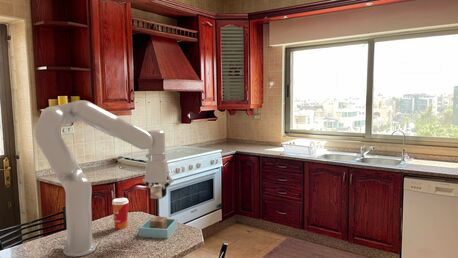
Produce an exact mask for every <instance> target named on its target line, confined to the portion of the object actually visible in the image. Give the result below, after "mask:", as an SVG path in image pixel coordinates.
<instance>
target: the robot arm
mask: <svg viewBox="0 0 458 258" xmlns="http://www.w3.org/2000/svg"><path fill="white" fill-rule="evenodd" d="M39 116H40V117H39V119H38V121H37V122H36V124H35V128H34V135H35V140H36V143H37V145H38V147H39V148H40V150H41V151H42V153H43V156H44V158H46V160H47V162H48V163H49V164H48V165H49V167H50V169H51V170H52V172H53V173H54V175H55V176H56V178H57V179H58V181H59V182H60V184H61V186H62V187H63V189H64V193H65V219H66V220H65V221H66V237H61V238H60V242H59V245H61V246H64V248H63V255H64V256H67V257H71V258H73V257H74V258H75V257H83V256H86V255H90V254H92V253H93V252H94V251H95V250H97V249H98V244H97V243H96V242H95V241H93V219H92V217H93V216H92V215H93V214H92V193H93V192H92V191H93V190H92V189H93V188H92V183H91V181H90V179H89V178H88V177H87V175H85V173H84V171H83V170H82V168H81V167H80V165H79V164H78V162H77V159H76V156H75V155H74V154H73V153H72V152H71V151H70V149H69V147H68V146H67V144H66V143H65V140H64V138H63V136H62V134H61V130H62V128H63V126H64V125H68V124H73V123H76V122H81V123H84V124H85V125H88V126H90V127H92V128H94V129H96V130H98V131H99V132H102V133H104V134H106V135H108V136H110V137H114V138H117V139H119V140H121V141H124V142H126V143H128V144H130V145H131V146H133V147H135V148H138V149H140V150H143V151H145V150H147V151H148V152H147V154H146V155H145V158H148V159H147V160H146V162H145V163H146V164H145V170H144V171H145V174H144V177H143V178H142V182H143V183H144V184H145V185H146V186H147V187H148V189H149V191H148V192H149V195H150V198H151V187H152V186H154V185H155V184H160V185H162V187H163V189H162V197H163V198H165V197H166V196H167V188H168V187H169V186H170V185H171V184H172V183H173V182H174V179H173V178H172V177H171V175H170V170H169V163H168V160H167V159H166V134H165V131H164V130H161V129H153V130H143V129H142V128H140V127H137V126H135V125H133V124H132V123H130V122H128V121H126V120H124V119H123V118H121V117H119V116H117V115H115V114H113V113H111V112H109V111H107V110H106V109H104V108H103V107H100V106H98V105H96V104H94V103H92V102H91V101H89V100H85V99H84V100H81V99H80V100H75V101H71V102H66V103H63V104H62V103H61V104H57V105H52V106H48V107H46V108H44V109H43V110H41V113H40V115H39Z"/></svg>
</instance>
